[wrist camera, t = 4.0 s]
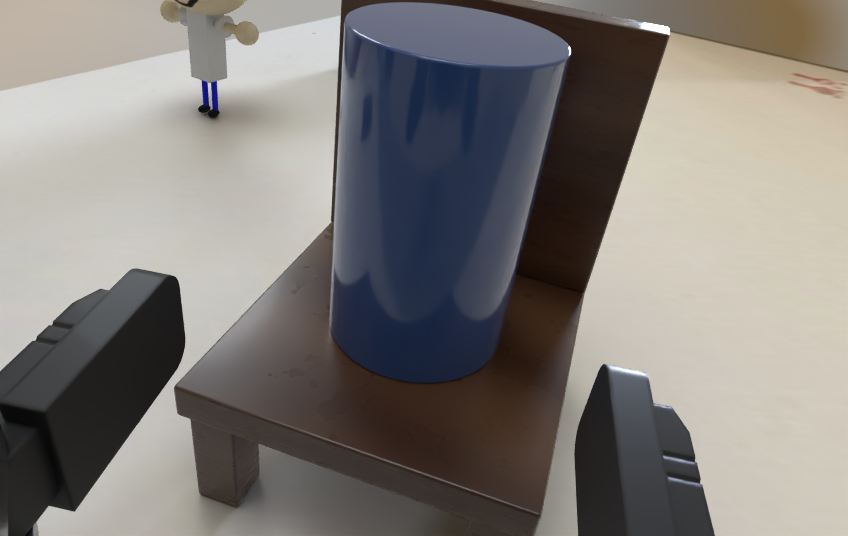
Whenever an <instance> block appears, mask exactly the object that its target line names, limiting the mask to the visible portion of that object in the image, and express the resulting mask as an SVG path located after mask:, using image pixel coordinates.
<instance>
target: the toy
mask: <svg viewBox="0 0 848 536" xmlns="http://www.w3.org/2000/svg"><path fill="white" fill-rule="evenodd" d="M246 1H247V0H166V1H164V2H163V3H162V5H161V9H160V11H161V15H162V16H163V18H164V19H166V20H167V21H169V22H178V21H180V22H181V24H183V25H184V26H188V38H189V51H190V63H191V76H192V77H195V78H197V79H200V80H202V92H203V105H201V106H200V107H199V108H198V111H199V112H201V113H206V112H208V111H209V110H210V106H209V98H208V83H207V82H209V83H211V89H212V105H213V109H212V110H210V111H209V112H208V116H209V117H216V116H218V115H219V113H220V112H219V110H218V96H217V81H218V80H222V79H225V78H227V65H226V45H225V38H227V37H230V36H231V34H235V35H236V38H237V40H238V41H239V42H240V43H242V44H244V45H252V44H254V43H255V42H256V41H257V39H258V36H259V33H258V29H257V28H256V26H255V25H254V24H252V23H251V22H247V21H244V22H241V23H239V24H238V25H234V22H233V20H232V18H231V17H230V16H224V14H226V13H229V12H231V11H233V10H235V9H237V8H239V7H240V6H241V5H243V4H244V3H245V2H246Z"/></svg>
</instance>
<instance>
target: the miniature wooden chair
mask: <svg viewBox="0 0 848 536" xmlns="http://www.w3.org/2000/svg"><path fill="white" fill-rule="evenodd" d="M394 2H415V3H433V4H443V5H452V6H460V7H466V8H472V9H478V10H483V11H488V12H493V13H497V14H501V15H505V16H509V17H513V18H516V19H520V20H523V21H526V22H529V23H531V24H534V25H537V26H539V27H542V28H544V29H546V30H548V31H550V32H552V33H554V34H556V35H557V36H559V37H560V38H562V39H563V40H564V41H565V42H567V44H568V45H569V46H570V49H571V57H570V61H569V65H568V69H567V73H566V77H565V81H564V85H563V89H562V93H561V97H560V101H559V105H558V109H557V113H556V117H555V121H554V125H553V129H552V133H551V137H550V141H549V145H548V149H547V153H546V157H545V161H544V165H543V169H542V173H541V177H540V181H539V185H538V189H537V193H536V197H535V201H534V205H533V209H532V213H531V217H530V221H529V225H528V229H527V233H526V237H525V241H524V245H523V249H522V253H521V257H520V261H519V265H518V269H517V273H516V277H515V281H514V285H513V289H512V293H511V297H510V301H509V305H508V309H507V313H506V317H505V321H504V325H503V329H502V333H501V337H500V341H499V345H498V348H497V350H496V352H495V354H494V355H493V357H492V358H491V359H490V360H489V361H488V362H487V363H486V364H485V365H484V366H483V367H482V368H480V369H479V370H477V371H476V372H474V373H472V374H470V375H468V376H465V377H462V378H459V379H456V380H452V381H447V382H439V383H412V382H405V381H399V380H395V379H391V378H387V377H384V376H382V375H379V374H376V373H374V372H372V371H370V370H368V369H366V368H364V367H362V366H361V365H359V364H358V363H356V362H354V361H353V360H352V359H351V358H350V357H348V356H347V355H346V354H345V353H344V352H343V350H342V349H341V348H340V347H339V345H338V344H337V342H336V341H335V339H334V337H333V335H332V332H331V329H330V325H329V312H330V293H331V273H332V254H333V234H334V215H335V196H336V176H337V157H338V137H339V118H340V98H341V79H342V59H343V40H344V21H345V18H346V16H347V15H348V14H349V13H350V12H351V11H353V10H355V9H357V8H360V7H364V6H368V5H373V4H380V3H394ZM341 6H342V7H341V26H340V46H339V67H338V88H337V109H336V129H335V150H334V171H333V192H332V212H331V223H330V224H329V226H328V227H327V228H326V229H325V230H324V231H323V232H322V233H321V234H320V235H319V236H318V237H317V238H316V239H315V240H314V241H313V242H312V243H311V244H310V245H309V246H308V247H307V248H306V250H305V251H304V252H303V253H302V254H301V255H300V256H299V257H298V258H297V259H296V260H295V261H294V262H293V263H292V264H291V265H290V266H289V267H288V268H287V269H286V270H285V271H284V273H283V274H282V275H281V276H280V277H279V278H278V279H277V280H276V281H275V282H274V283H273V284H272V285H271V286H270V287H269V288H268V289H267V290H266V291H265V292H264V293H263V294H262V295H261V297H260V298H259V299H258V300H257V301H256V302H255V303H254V304H253V305H252V306H251V307H250V308H249V309H248V310H247V311H246V312H245V313H244V314H243V315H242V316H241V317H240V318H239V319H238V321H237V322H236V323H235V324H234V325H233V326H232V327H231V328H230V329H229V330H228V331H227V332H226V333H225V334H224V335H223V336H222V337H221V338H220V339H219V340H218V341H217V342H216V344H215V345H214V346H213V347H212V348H211V349H210V350H209V351H208V352H207V353H206V354H205V355H204V356H203V357H202V358H201V359H200V360H199V361H198V362H197V363H196V364H195V365H194V366H193V368H192V369H191V370H190V371H189V372H188V373H187V374H186V375H185V376H184V377H183V378H182V379H181V380H180V381H179V382H178V383H177V384H176V385H175V387H174V392H175V400H176V407H177V413H178V414H179V415H181V416H184V417H187V418H189V419H191V428H192V436H193V445H194V453H195V462H196V470H197V478H198V487H199V493H200V494H203V495H205V496H208V497H210V498H213V499H216V500H218V501H221V502H223V503H226V504H229V505H231V506H234V507H238V506H239V504H240V503H241V501H242V500H243V498H244V497H245V495H246V494H247V493H248V491H249V490H250V488H251V487H252V485H253V484H254V482H255V481H256V479H257V478H258V476H259V444H261V445H264V446H267V447H270V448H272V449H275V450H278V451H281V452H283V453H286V454H289V455H292V456H294V457H297V458H300V459H303V460H305V461H308V462H311V463H314V464H316V465H319V466H322V467H325V468H328V469H330V470H333V471H336V472H339V473H341V474H344V475H347V476H350V477H352V478H355V479H358V480H361V481H363V482H366V483H369V484H372V485H375V486H377V487H380V488H383V489H386V490H388V491H391V492H394V493H397V494H399V495H402V496H405V497H408V498H410V499H413V500H416V501H419V502H421V503H424V504H427V505H430V506H433V507H435V508H438V509H441V510H444V511H446V512H449V513H452V514H455V515H457V516H460V517H463V518H466V519H468V520H470V521H469V525H468V529H467V532H466V536H534V534H535V532H536V529H537V526H538V524H539V521H540V518H541V515H542V510H543V505H544V499H545V494H546V489H547V484H548V479H549V474H550V468H551V463H552V458H553V453H554V448H555V443H556V437H557V432H558V427H559V422H560V417H561V412H562V407H563V401H564V396H565V391H566V386H567V381H568V376H569V370H570V365H571V360H572V355H573V350H574V345H575V340H576V334H577V329H578V324H579V319H580V314H581V309H582V303H583V298H584V293H585V291H586V288H587V285H588V282H589V279H590V276H591V273H592V270H593V266H594V263H595V260H596V257H597V254H598V251H599V248H600V245H601V242H602V239H603V236H604V233H605V230H606V227H607V224H608V221H609V218H610V215H611V212H612V209H613V206H614V203H615V200H616V197H617V194H618V191H619V188H620V185H621V182H622V179H623V176H624V173H625V170H626V167H627V164H628V161H629V157H630V154H631V151H632V148H633V145H634V142H635V139H636V136H637V133H638V130H639V127H640V124H641V121H642V118H643V115H644V112H645V109H646V106H647V103H648V100H649V97H650V94H651V91H652V88H653V85H654V82H655V79H656V76H657V73H658V70H659V67H660V64H661V61H662V58H663V55H664V51H665V48H666V45H667V42H668V39H669V28H668V27H665V26H660V25H655V24H650V23H645V22H639V21H634V20H629V19H624V18H619V17H614V16H609V15H604V14H599V13H593V12H588V11H583V10H578V9H573V8H567V7H563V6H558V5H553V4H547V3H542V2H537V1H532V0H342V5H341Z"/></svg>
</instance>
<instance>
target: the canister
mask: <svg viewBox="0 0 848 536" xmlns="http://www.w3.org/2000/svg"><path fill="white" fill-rule="evenodd" d="M570 57H571V49H570V46H569V45H568V44H567V42H565V41H564V40H563V39H562V38H560V37H559V36H557V35H556V34H554V33H552V32H550V31H548V30H546V29H544V28H542V27H539V26H537V25H534V24H531V23H529V22H526V21H523V20H520V19H516V18H513V17H509V16H505V15H501V14H497V13H493V12H488V11H483V10H478V9H472V8H466V7H460V6H452V5H443V4H433V3H415V2H394V3H380V4H373V5H368V6H364V7H360V8H357V9H355V10H353V11H351V12H350V13H349V14H348V15H347V16H346V18H345V21H344V40H343V59H342V79H341V98H340V118H339V137H338V157H337V176H336V196H335V215H334V234H333V254H332V273H331V293H330V312H329V325H330V329H331V332H332V335H333V337H334V339H335V341H336V342H337V344H338V345H339V347H340V348H341V349H342V350H343V352H344V353H345V354H346V355H347V356H348V357H350V358H351V359H352V360H353V361H354V362H356V363H358V364H359V365H361V366H362V367H364V368H366V369H368V370H370V371H372V372H374V373H376V374H379V375H382V376H384V377H387V378H391V379H395V380H399V381H405V382H412V383H439V382H447V381H452V380H456V379H459V378H462V377H465V376H468V375H470V374H472V373H474V372H476V371H477V370H479V369H480V368H482V367H483V366H484V365H485V364H486V363H487V362H488V361H489V360H490V359H491V358H492V357H493V355H494V354H495V352H496V350H497V348H498V345H499V341H500V337H501V333H502V329H503V325H504V321H505V317H506V313H507V309H508V305H509V301H510V297H511V293H512V289H513V285H514V281H515V277H516V273H517V269H518V265H519V261H520V257H521V253H522V249H523V245H524V241H525V237H526V233H527V229H528V225H529V221H530V217H531V213H532V209H533V205H534V201H535V197H536V193H537V189H538V185H539V181H540V177H541V173H542V169H543V165H544V161H545V157H546V153H547V149H548V145H549V141H550V137H551V133H552V129H553V125H554V121H555V117H556V113H557V109H558V105H559V101H560V97H561V93H562V89H563V85H564V81H565V77H566V73H567V69H568V65H569V61H570Z"/></svg>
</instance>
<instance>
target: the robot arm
mask: <svg viewBox="0 0 848 536" xmlns="http://www.w3.org/2000/svg"><path fill="white" fill-rule="evenodd" d="M184 348H185V331H184V322H183V313H182V304H181V295H180V287H179V282H178V280H177V278H176V277H174V276H171V275H166V274H161V273H156V272H152V271H147V270H142V269H132V270H130V271H129V272H127V273H126V274H125V275H124V276H123V277H122V278H121V279H120V280H119V281H118V282H117V283H116V284H115V285H114V286H113V287H112V288H111V289H110V290H109V291H108V290H103V289H99V290H97V291H95V292H93V293H91V294H89V295H87V296H85V297H83V298H81V299H79V300H78V301H76V302H74V303H72V304H71V305H70V306H69V307H68V308H67V309H66V310H65V311H64V312H63V313H62V314H60V315H59V316H58V317H57V318H56V319H55V320H54V321H53V325H52V326H50V325H49V326H48V327H47V328H46V329H45V330H44V331H42V332H41V333H40V334H39V335H38V336H37V339H36V341H32V342H31V343H30V344H29V345H28V346H27V347H26V348H24V349H23V350H22V351H21V352H20V353H19V354H18V355H17V356H16V357H15V358H14V359H13V360H12V361H11V362H10V363H9V364H8V365H6V366H5V367H4V368H3V369H2V370H1V371H0V536H39V532H38V526H37V523H36V521H37V520H38V519H39V518H40V516H41V515H42V514H43V512H44V511H45V510H46V508H47V507H48V506H53V507H57V508H61V509H66V510H70V511H74V512H75V510H76V509H77V507H78V506H79V505H80V503H81V502H82V501H83V499H84V498H85V496H86V495H87V494H88V492H89V491H90V489H91V488H92V487H93V485H94V484H95V482H96V481H97V480H98V478H99V477H100V475H101V474H102V473H103V471H104V470H105V469H106V467H107V466H108V464H109V463H110V462H111V460H112V459H113V457H114V456H115V455H116V453H117V452H118V450H119V449H120V448H121V446H122V445H123V444H124V442H125V441H126V439H127V438H128V437H129V435H130V434H131V432H132V431H133V430H134V428H135V427H136V425H137V424H138V423H139V421H140V420H141V418H142V417H143V416H144V414H145V413H146V412H147V410H148V409H149V407H150V406H151V405H152V403H153V402H154V400H155V399H156V398H157V396H158V395H159V393H160V392H161V391H162V389H163V388H164V386H165V385H166V384H167V382H168V381H169V380H170V378H171V377H172V375H173V374H174V373H175V371H176V370H177V368H178V366H179V364H180V362H181V359H182V356H183V353H184ZM575 476H576V498H577V519H578V536H715V535H714V531H713V527H712V523H711V519H710V514H709V510H708V506H707V502H706V498H705V494H704V490H703V486H702V484H700V480H701V478H700V474H699V470H698V466H697V463H695V454H694V450H693V446H692V442H691V437H690V433H689V431H688V430H687V428H686V427H685V425H684V424H683V423H682V421H681V420H680V418H679V417H678V415H677V414H676V413H675V411H674V410H673V408H672V407H668V406H664V405H659V404H654V403H653V399H652V394H651V389H650V383H649V379H648V376H647V374H646V373H645V372H641V371H636V370H631V369H626V368H621V367H616V366H611V365H606V364H603V365H602V366H601V368H600V370H599V372H598V375H597V377H596V380H595V382H594V385H593V388H592V390H591V393H590V396H589V398H588V401H587V404H586V406H585V409H584V412H583V414H582V417H581V419H580V422H579V426H578V430H577V435H576V441H575Z"/></svg>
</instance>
